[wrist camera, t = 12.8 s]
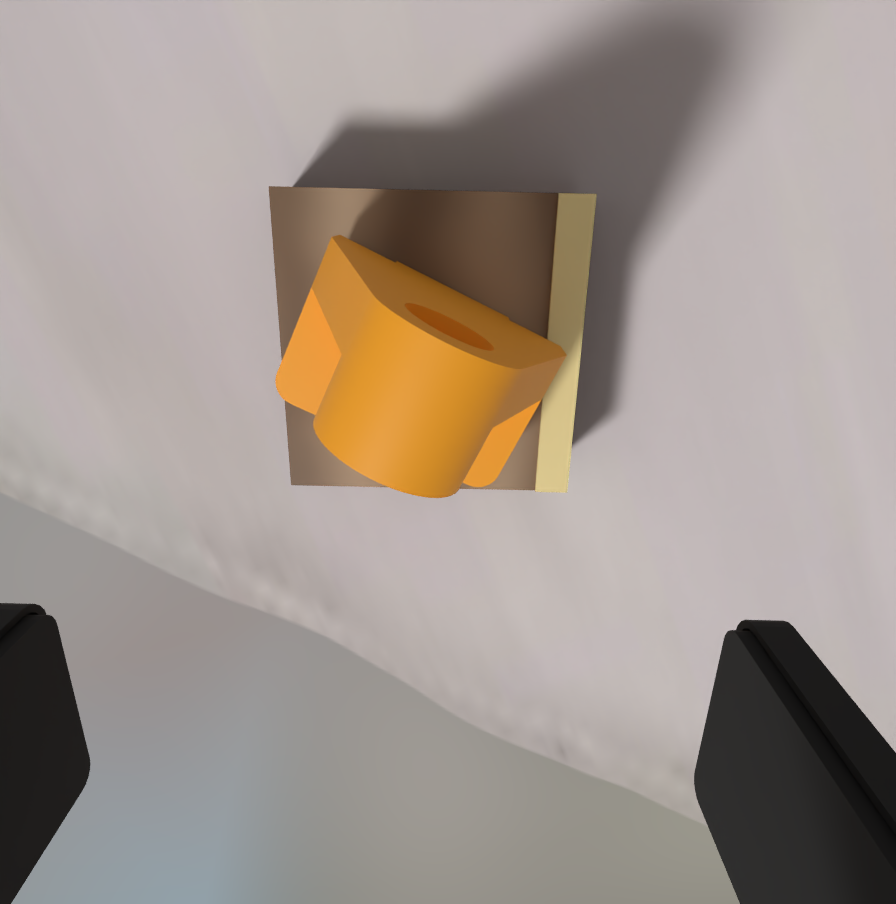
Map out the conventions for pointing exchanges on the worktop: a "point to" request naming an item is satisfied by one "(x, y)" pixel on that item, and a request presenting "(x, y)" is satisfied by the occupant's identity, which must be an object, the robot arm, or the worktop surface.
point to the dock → (462, 269)
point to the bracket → (411, 374)
